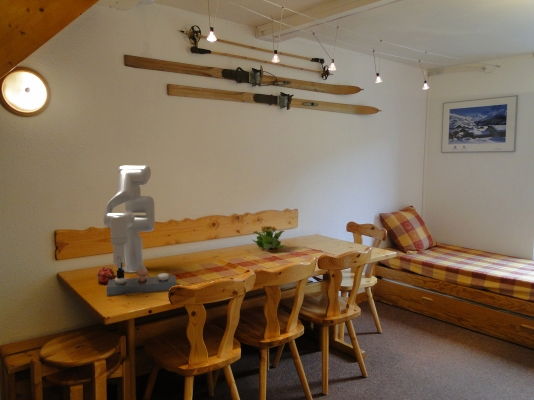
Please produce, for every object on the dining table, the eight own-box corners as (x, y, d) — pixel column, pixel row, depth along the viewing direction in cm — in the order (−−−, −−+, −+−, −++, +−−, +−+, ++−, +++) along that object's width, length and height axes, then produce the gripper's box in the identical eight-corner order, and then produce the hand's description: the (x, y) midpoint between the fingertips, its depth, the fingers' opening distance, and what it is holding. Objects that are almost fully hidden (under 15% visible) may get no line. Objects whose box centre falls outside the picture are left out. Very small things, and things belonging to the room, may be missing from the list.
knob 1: (116, 288, 202) (115, 276, 202) (126, 287, 204) (126, 275, 203) (115, 291, 197) (114, 279, 197) (126, 290, 199) (125, 278, 198)
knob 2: (158, 285, 208) (157, 273, 207) (168, 284, 209) (168, 272, 208) (158, 288, 203) (158, 276, 202) (168, 287, 204) (168, 275, 204)
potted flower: (295, 250, 285) (295, 225, 283) (272, 256, 268) (272, 230, 266) (269, 245, 303) (269, 221, 301) (245, 250, 285) (245, 225, 284)
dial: (137, 280, 205) (136, 269, 204) (147, 280, 206) (147, 268, 205) (137, 283, 200) (136, 271, 199) (147, 283, 201) (147, 271, 201)
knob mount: (109, 287, 205) (108, 280, 204) (175, 282, 213) (174, 275, 213) (106, 295, 193) (106, 287, 193) (176, 289, 202) (176, 281, 201)
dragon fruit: (103, 281, 219) (112, 290, 211) (90, 275, 214) (98, 284, 205) (112, 268, 221) (122, 276, 213) (100, 261, 216) (108, 269, 207)
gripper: (112, 238, 204) (113, 274, 206) (109, 244, 190) (111, 283, 191) (128, 237, 206) (129, 273, 208) (126, 243, 192) (128, 281, 193)
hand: (120, 277), depth 200 cm, fingers closed
